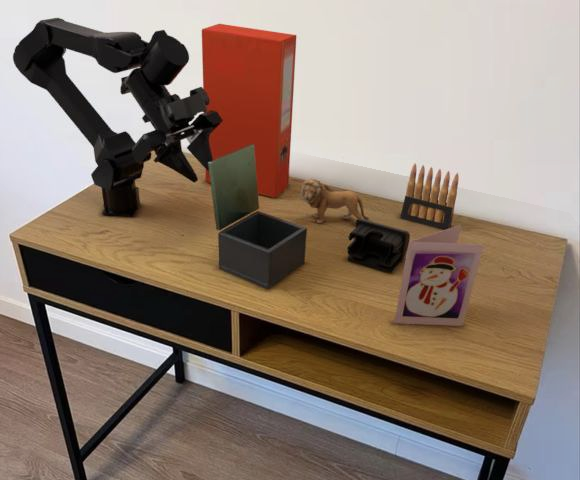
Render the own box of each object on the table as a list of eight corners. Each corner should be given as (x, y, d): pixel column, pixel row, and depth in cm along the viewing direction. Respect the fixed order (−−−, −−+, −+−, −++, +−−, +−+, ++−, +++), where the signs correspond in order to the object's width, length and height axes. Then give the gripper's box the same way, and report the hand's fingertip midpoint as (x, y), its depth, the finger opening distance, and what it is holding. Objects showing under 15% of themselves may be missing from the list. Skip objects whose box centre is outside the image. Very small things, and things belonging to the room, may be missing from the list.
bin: (304, 263, 119) (307, 228, 114) (268, 289, 111) (269, 252, 106) (257, 245, 123) (257, 210, 119) (218, 268, 116) (218, 232, 111)
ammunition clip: (400, 218, 136) (409, 163, 129) (403, 214, 137) (412, 160, 130) (448, 230, 132) (460, 175, 125) (451, 227, 134) (463, 172, 126)
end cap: (406, 258, 122) (412, 226, 118) (393, 274, 117) (399, 241, 113) (358, 245, 126) (362, 213, 121) (344, 260, 120) (347, 227, 116)
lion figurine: (300, 226, 131) (302, 184, 125) (298, 214, 135) (300, 174, 129) (370, 227, 132) (376, 186, 126) (366, 215, 136) (371, 175, 131)
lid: (254, 144, 112) (250, 143, 112) (211, 162, 104) (207, 162, 104) (259, 208, 118) (256, 207, 119) (219, 230, 111) (216, 229, 111)
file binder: (222, 171, 152) (220, 22, 132) (288, 185, 147) (296, 34, 127) (205, 182, 146) (200, 29, 126) (274, 198, 141) (280, 41, 121)
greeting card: (394, 326, 104) (409, 244, 95) (389, 301, 110) (402, 222, 101) (463, 328, 104) (485, 247, 95) (454, 303, 110) (473, 225, 101)
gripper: (137, 84, 100) (193, 169, 102) (213, 63, 113) (262, 139, 115) (108, 123, 108) (161, 201, 110) (182, 99, 121) (228, 170, 123)
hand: (205, 177), depth 114 cm, fingers open, 5 cm apart
